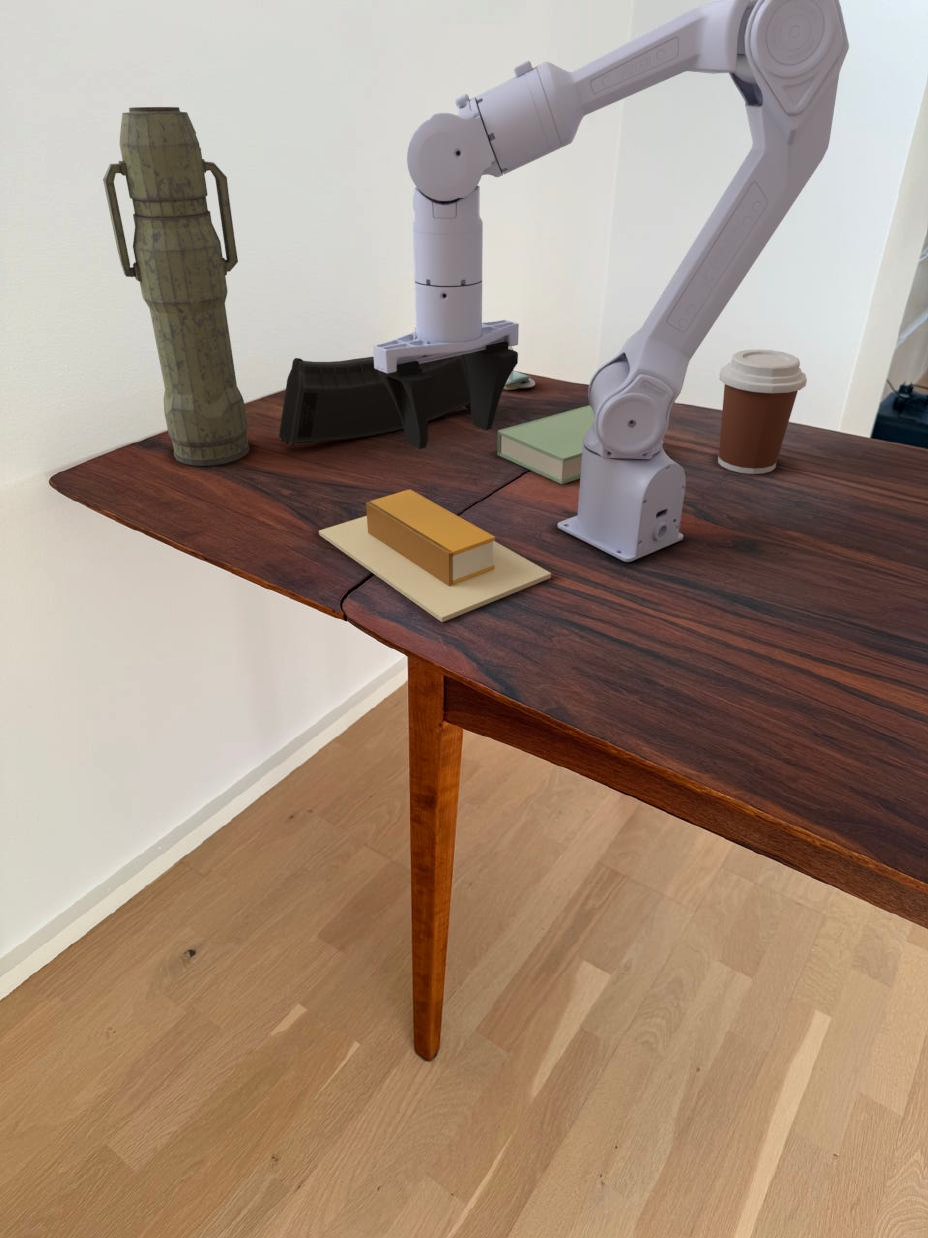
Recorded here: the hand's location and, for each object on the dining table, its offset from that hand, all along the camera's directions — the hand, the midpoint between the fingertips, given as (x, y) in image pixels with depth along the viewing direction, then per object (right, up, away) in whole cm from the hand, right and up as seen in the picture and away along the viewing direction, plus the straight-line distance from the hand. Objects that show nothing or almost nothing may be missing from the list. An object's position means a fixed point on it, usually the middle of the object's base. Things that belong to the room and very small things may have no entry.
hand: (450, 435), depth 78 cm
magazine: (-7, +7, +30) cm, 32 cm away
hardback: (+15, +3, +22) cm, 27 cm away
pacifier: (+8, +17, +44) cm, 48 cm away
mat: (-2, -11, 0) cm, 11 cm away
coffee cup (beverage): (+34, +1, +19) cm, 39 cm away
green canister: (-29, +3, +22) cm, 36 cm away
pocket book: (-2, -11, 0) cm, 11 cm away
